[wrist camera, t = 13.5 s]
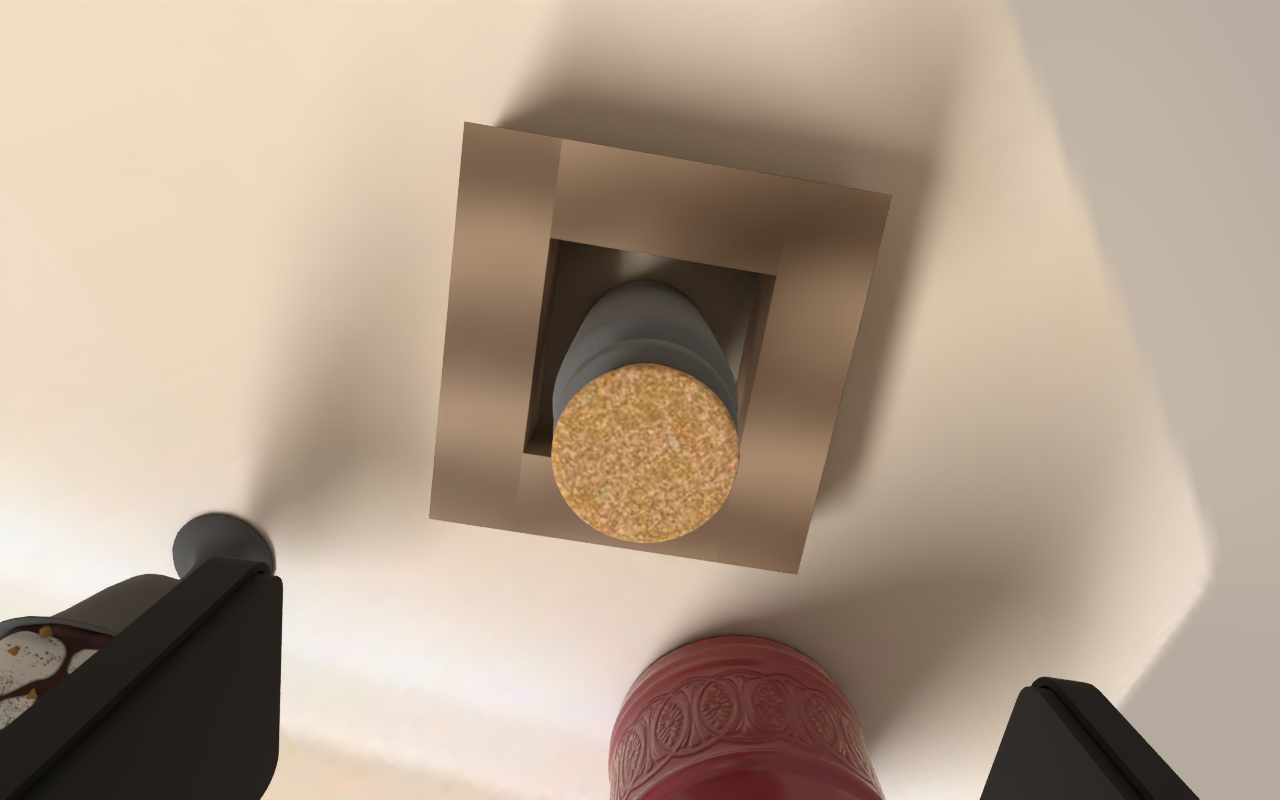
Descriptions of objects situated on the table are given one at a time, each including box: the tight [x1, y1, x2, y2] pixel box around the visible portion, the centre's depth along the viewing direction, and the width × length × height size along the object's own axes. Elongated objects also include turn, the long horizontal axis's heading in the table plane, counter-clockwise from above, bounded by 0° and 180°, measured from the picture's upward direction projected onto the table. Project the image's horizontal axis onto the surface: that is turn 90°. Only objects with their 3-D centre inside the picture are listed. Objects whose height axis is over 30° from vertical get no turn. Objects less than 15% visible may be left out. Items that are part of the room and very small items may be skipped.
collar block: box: [429, 122, 892, 574], centre depth 30 cm, size 16×16×4 cm
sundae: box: [0, 515, 273, 731], centre depth 28 cm, size 7×7×15 cm
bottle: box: [551, 280, 740, 543], centre depth 25 cm, size 6×6×15 cm
